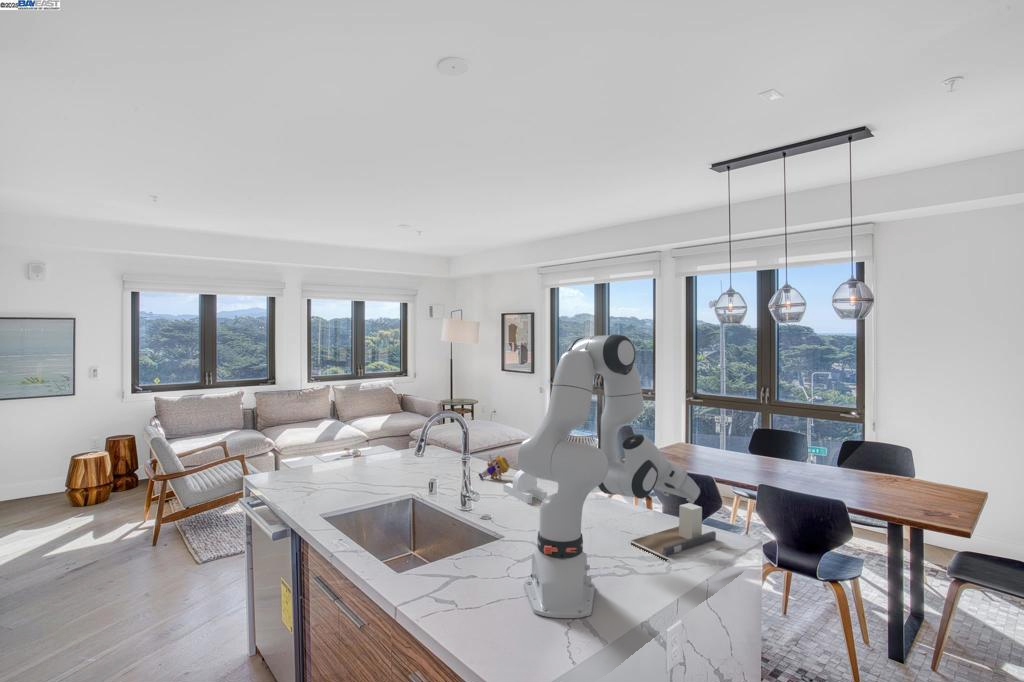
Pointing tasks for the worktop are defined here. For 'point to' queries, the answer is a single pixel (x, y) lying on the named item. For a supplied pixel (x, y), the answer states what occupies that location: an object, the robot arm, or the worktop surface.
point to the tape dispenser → (524, 488)
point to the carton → (690, 520)
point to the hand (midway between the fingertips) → (679, 497)
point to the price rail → (689, 543)
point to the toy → (495, 468)
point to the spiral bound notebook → (659, 541)
